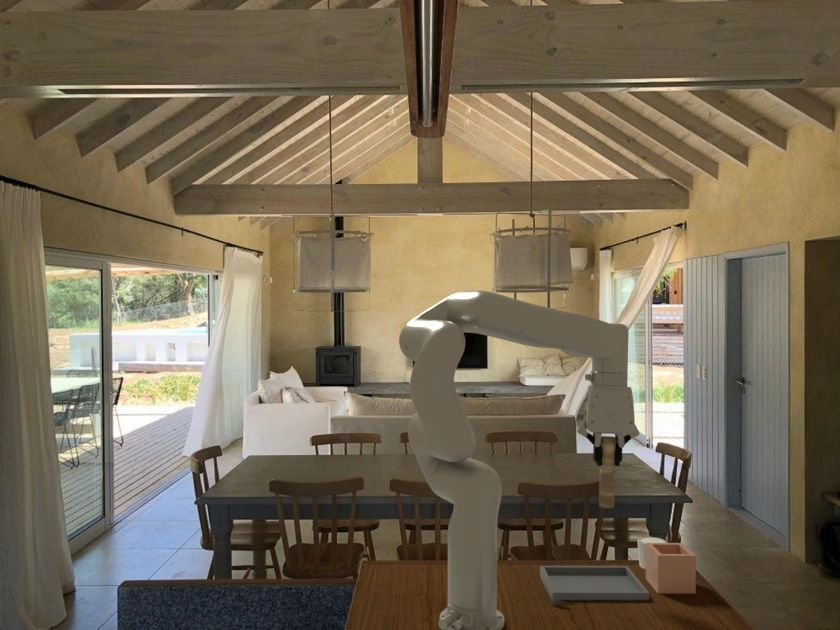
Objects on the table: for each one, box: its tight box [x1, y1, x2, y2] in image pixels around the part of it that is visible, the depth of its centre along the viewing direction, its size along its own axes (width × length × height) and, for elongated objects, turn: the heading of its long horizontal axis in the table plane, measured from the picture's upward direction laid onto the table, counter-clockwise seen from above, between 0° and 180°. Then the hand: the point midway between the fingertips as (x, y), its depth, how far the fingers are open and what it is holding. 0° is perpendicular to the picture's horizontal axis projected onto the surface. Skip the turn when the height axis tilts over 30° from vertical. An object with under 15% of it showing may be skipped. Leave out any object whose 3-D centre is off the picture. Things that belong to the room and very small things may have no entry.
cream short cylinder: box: [637, 536, 669, 570], centre depth 165 cm, size 7×7×7 cm
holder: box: [645, 542, 697, 595], centre depth 153 cm, size 8×8×9 cm
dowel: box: [598, 435, 616, 509], centre depth 153 cm, size 3×3×15 cm
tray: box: [539, 565, 650, 606], centre depth 153 cm, size 20×15×2 cm
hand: (607, 463), depth 153 cm, fingers closed on dowel, 3 cm apart
